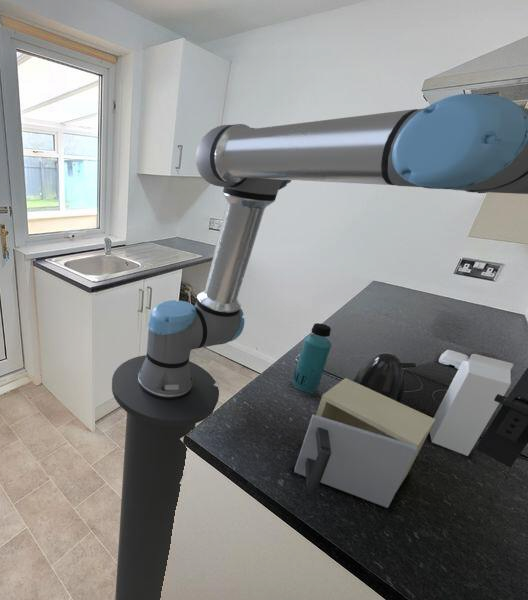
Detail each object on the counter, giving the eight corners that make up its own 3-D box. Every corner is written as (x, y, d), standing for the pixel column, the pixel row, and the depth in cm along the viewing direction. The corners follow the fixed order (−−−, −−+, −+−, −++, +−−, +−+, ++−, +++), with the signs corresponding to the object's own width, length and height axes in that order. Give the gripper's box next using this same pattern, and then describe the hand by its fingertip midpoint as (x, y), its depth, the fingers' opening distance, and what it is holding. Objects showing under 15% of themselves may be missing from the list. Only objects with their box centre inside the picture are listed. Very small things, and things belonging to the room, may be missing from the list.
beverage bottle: (319, 390, 87) (340, 326, 79) (312, 401, 82) (334, 333, 75) (294, 380, 91) (312, 317, 84) (286, 389, 86) (304, 324, 79)
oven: (388, 504, 56) (418, 445, 51) (304, 447, 67) (322, 394, 62) (407, 474, 62) (435, 419, 57) (327, 427, 73) (345, 377, 68)
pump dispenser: (399, 423, 76) (424, 370, 70) (349, 407, 80) (368, 356, 75) (391, 400, 84) (412, 351, 79) (346, 387, 89) (363, 340, 83)
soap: (441, 354, 110) (444, 346, 109) (468, 362, 105) (472, 355, 104) (437, 362, 105) (440, 354, 104) (465, 371, 100) (469, 363, 99)
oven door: (398, 542, 50) (433, 481, 45) (294, 499, 56) (315, 441, 51) (386, 503, 56) (415, 445, 51) (294, 468, 62) (312, 413, 57)
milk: (467, 456, 67) (520, 370, 59) (430, 442, 71) (475, 359, 62) (462, 439, 72) (510, 358, 64) (427, 427, 75) (469, 347, 67)
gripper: (700, 294, 21) (531, 510, 29) (702, 264, 32) (582, 423, 40) (529, 266, 27) (428, 450, 35) (583, 249, 38) (499, 390, 46)
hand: (511, 436), depth 37 cm, fingers open, 13 cm apart
